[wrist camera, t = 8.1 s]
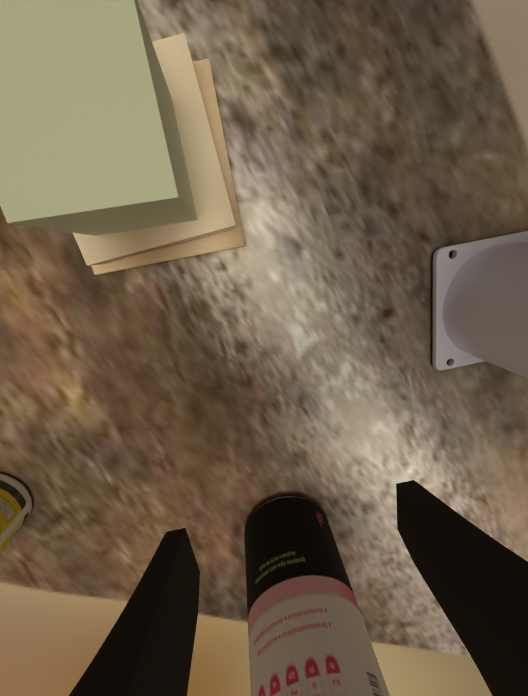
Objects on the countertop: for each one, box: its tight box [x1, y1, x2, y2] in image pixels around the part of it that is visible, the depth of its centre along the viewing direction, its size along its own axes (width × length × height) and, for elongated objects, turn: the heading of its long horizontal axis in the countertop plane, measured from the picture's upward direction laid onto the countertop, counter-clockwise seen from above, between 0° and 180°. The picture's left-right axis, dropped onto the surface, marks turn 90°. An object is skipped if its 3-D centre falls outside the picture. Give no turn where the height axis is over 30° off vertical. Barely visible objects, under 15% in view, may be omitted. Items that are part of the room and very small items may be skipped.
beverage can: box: [245, 496, 390, 696], centre depth 16 cm, size 7×6×15 cm
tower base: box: [91, 59, 245, 275], centre depth 15 cm, size 8×8×2 cm
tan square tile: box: [73, 33, 236, 266], centre depth 13 cm, size 7×7×2 cm
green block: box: [0, 0, 198, 236], centre depth 10 cm, size 4×4×6 cm
